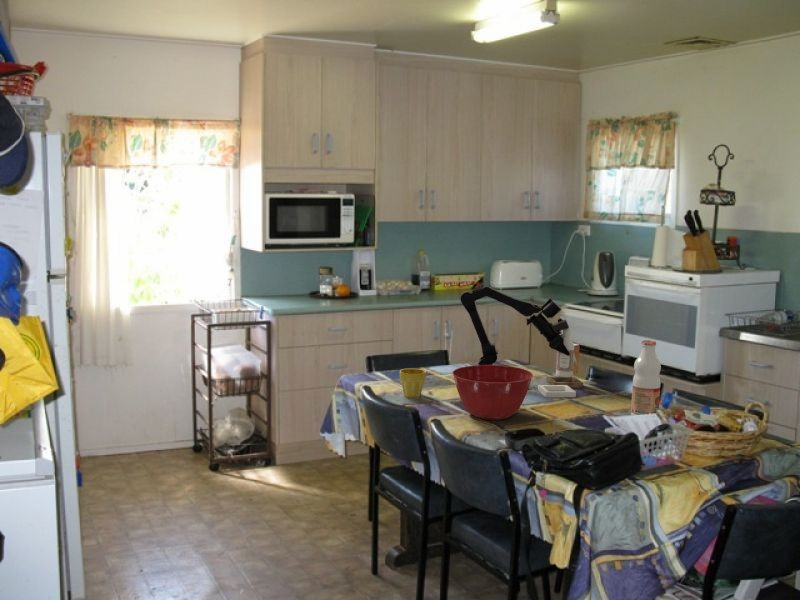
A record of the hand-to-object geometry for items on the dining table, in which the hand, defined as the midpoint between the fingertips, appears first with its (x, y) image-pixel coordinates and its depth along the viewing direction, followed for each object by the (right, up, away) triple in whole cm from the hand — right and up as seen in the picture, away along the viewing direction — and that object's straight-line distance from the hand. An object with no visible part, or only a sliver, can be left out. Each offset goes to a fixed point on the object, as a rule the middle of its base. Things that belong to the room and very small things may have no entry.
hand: (568, 353), depth 346 cm
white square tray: (-8, -15, -15) cm, 22 cm away
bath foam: (-2, -10, +2) cm, 10 cm away
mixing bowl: (-38, -19, -49) cm, 64 cm away
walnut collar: (-2, -13, +2) cm, 13 cm away
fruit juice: (+17, -20, -50) cm, 57 cm away
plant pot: (-65, -15, -22) cm, 71 cm away
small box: (+4, -11, +24) cm, 27 cm away
